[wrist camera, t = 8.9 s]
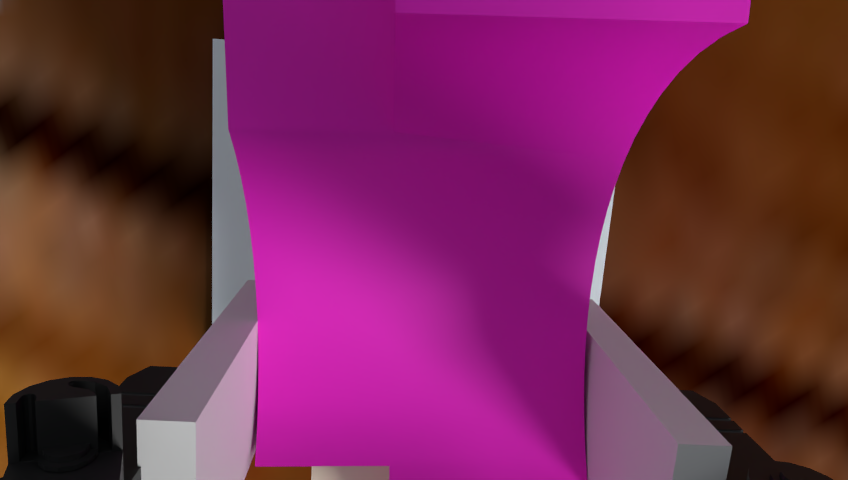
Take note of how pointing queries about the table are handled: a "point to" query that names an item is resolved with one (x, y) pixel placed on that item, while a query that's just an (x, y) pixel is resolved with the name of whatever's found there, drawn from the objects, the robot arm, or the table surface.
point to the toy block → (437, 217)
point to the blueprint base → (236, 247)
